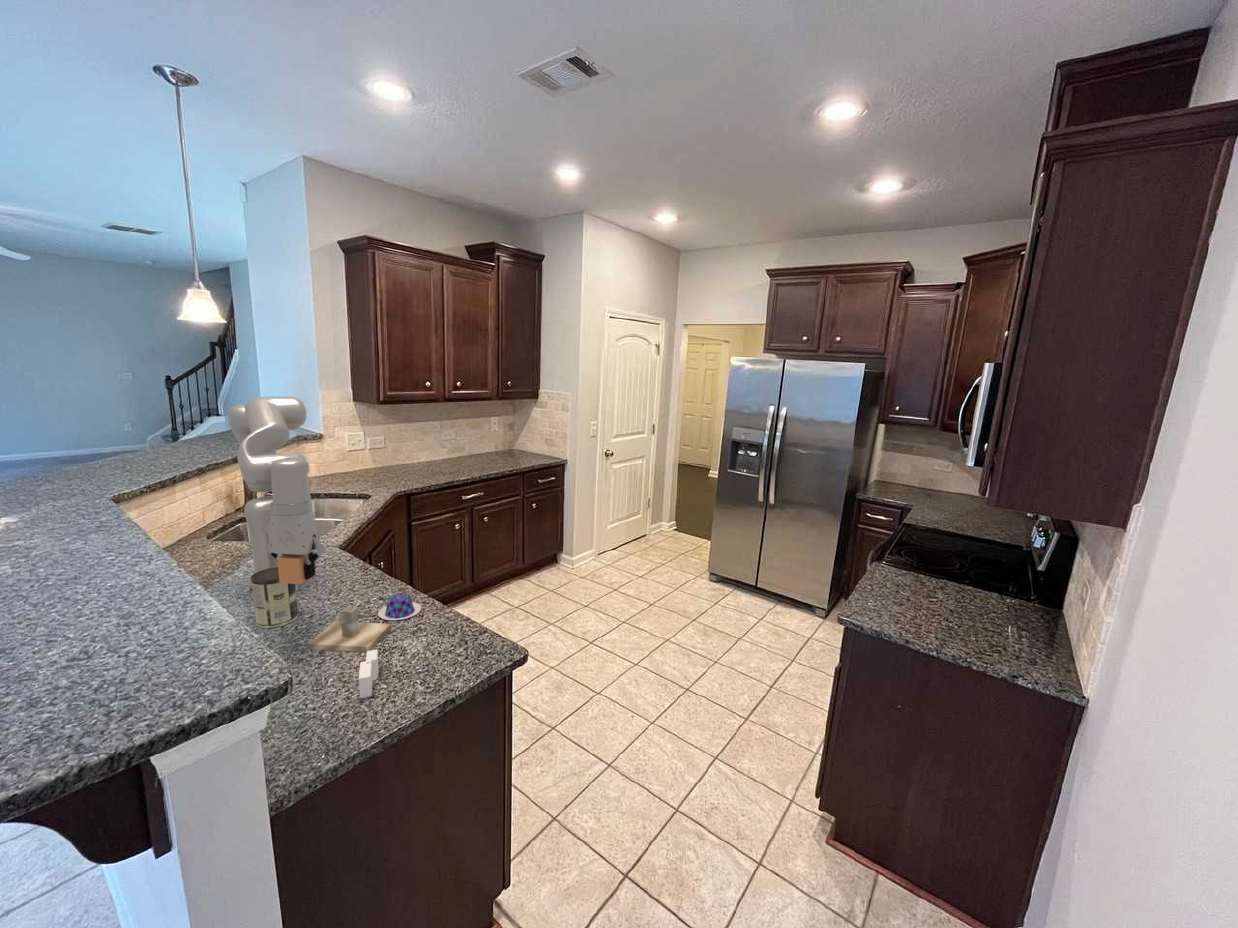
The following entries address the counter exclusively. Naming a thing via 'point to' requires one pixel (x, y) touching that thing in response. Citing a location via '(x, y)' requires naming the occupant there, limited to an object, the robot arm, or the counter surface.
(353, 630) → the post stand
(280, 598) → the coffee can
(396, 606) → the pudding
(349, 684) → the counter surface
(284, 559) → the orange block
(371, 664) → the white stepped block
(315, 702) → the counter surface
